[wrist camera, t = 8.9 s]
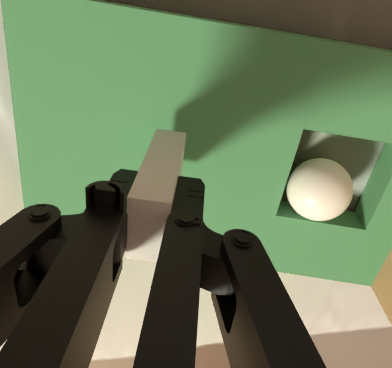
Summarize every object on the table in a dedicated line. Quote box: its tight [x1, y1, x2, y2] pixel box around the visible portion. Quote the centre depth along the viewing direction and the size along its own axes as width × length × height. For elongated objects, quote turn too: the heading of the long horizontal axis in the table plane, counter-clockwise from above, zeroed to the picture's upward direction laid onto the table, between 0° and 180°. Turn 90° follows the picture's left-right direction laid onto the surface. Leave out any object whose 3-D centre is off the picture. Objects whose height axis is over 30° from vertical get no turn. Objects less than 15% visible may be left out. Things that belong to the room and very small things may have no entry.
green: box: [1, 0, 392, 324], centre depth 19 cm, size 24×14×5 cm, turn 81°
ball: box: [286, 158, 353, 221], centre depth 20 cm, size 4×4×4 cm
